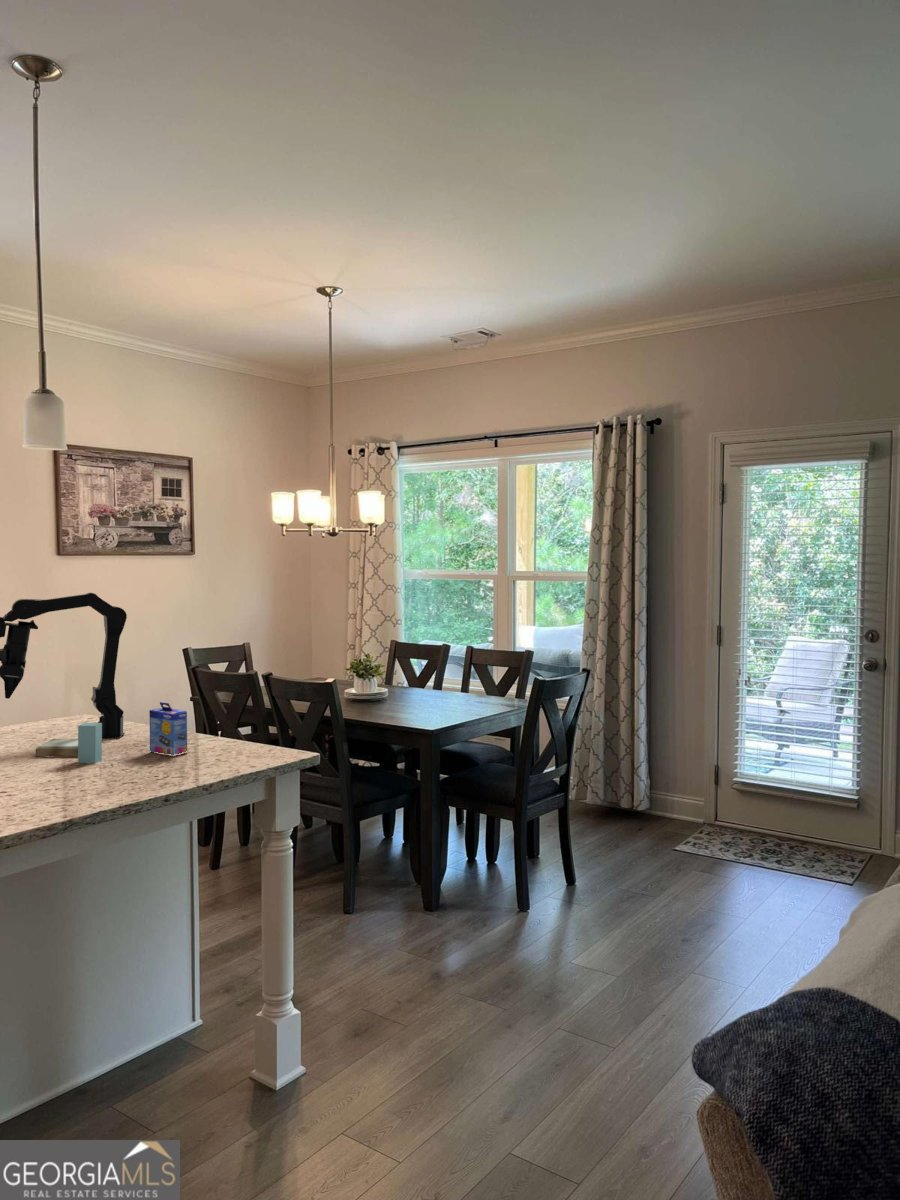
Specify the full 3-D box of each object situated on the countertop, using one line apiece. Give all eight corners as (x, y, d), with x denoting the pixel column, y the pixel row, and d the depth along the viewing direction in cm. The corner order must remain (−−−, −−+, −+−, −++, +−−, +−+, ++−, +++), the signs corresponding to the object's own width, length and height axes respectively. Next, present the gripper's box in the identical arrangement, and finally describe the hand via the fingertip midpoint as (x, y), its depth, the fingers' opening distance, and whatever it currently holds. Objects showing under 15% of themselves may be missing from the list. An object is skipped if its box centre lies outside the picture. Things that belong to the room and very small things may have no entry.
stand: (95, 747, 248) (95, 738, 248) (81, 756, 236) (81, 746, 236) (51, 747, 247) (51, 738, 247) (35, 756, 235) (35, 746, 235)
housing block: (84, 759, 233) (84, 722, 232) (101, 759, 233) (101, 722, 232) (78, 763, 228) (78, 725, 228) (95, 763, 228) (95, 725, 228)
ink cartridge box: (147, 753, 242) (148, 701, 242) (163, 749, 247) (164, 699, 247) (172, 757, 237) (172, 704, 237) (188, 754, 242) (188, 702, 242)
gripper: (-12, 634, 256) (-21, 686, 256) (-17, 643, 239) (-27, 698, 239) (29, 639, 260) (20, 690, 261) (28, 648, 243) (18, 703, 244)
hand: (8, 695), depth 251 cm, fingers open, 9 cm apart
